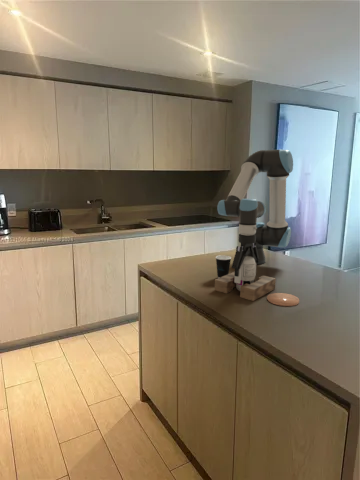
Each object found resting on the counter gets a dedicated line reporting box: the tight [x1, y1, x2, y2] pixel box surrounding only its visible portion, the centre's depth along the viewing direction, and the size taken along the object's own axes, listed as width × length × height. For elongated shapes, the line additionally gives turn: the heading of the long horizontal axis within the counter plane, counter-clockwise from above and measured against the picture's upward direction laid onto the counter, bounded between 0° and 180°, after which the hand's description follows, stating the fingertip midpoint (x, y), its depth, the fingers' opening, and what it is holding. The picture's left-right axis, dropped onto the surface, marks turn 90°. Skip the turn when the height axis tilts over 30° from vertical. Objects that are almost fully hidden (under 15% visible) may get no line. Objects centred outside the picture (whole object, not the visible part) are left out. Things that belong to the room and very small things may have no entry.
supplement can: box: [235, 256, 256, 292], centre depth 158 cm, size 8×8×15 cm
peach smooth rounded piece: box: [266, 292, 300, 307], centre depth 146 cm, size 13×13×1 cm
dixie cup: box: [214, 254, 232, 279], centre depth 174 cm, size 8×8×11 cm
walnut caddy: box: [214, 271, 276, 302], centre depth 159 cm, size 20×20×5 cm
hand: (245, 279), depth 158 cm, fingers open, 13 cm apart
